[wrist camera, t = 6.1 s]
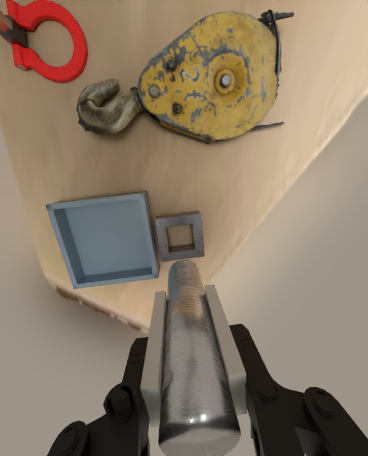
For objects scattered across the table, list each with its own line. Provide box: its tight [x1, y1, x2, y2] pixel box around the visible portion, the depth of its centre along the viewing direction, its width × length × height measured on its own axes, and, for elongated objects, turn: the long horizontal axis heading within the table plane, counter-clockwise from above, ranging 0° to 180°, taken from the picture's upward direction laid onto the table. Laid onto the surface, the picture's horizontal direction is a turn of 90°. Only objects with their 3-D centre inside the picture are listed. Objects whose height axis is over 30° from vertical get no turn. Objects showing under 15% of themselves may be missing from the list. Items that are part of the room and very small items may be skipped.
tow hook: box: [0, 0, 88, 83], centre depth 18 cm, size 8×13×9 cm
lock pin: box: [158, 260, 241, 456], centre depth 13 cm, size 3×3×12 cm
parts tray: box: [46, 191, 160, 289], centre depth 30 cm, size 15×15×4 cm
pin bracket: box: [155, 211, 205, 262], centre depth 31 cm, size 8×8×2 cm
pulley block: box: [77, 9, 294, 144], centre depth 24 cm, size 14×6×30 cm
